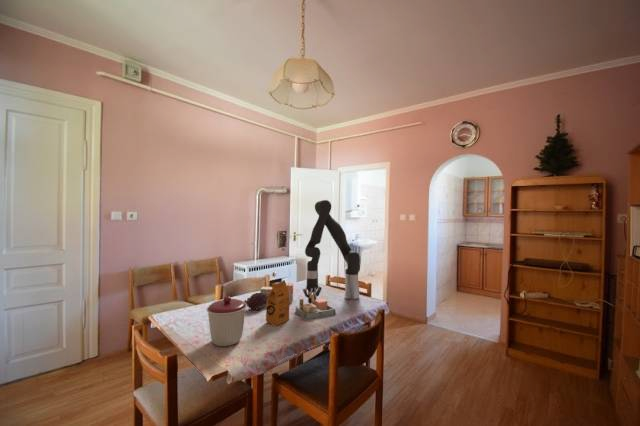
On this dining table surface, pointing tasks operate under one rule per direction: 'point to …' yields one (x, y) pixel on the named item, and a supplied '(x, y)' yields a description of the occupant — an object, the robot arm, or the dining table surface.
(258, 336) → the dining table surface
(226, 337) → the canister
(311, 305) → the birch block
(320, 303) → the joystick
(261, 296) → the pine cone
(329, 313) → the shelf rack
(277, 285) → the coffee package
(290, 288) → the stack of blocks
